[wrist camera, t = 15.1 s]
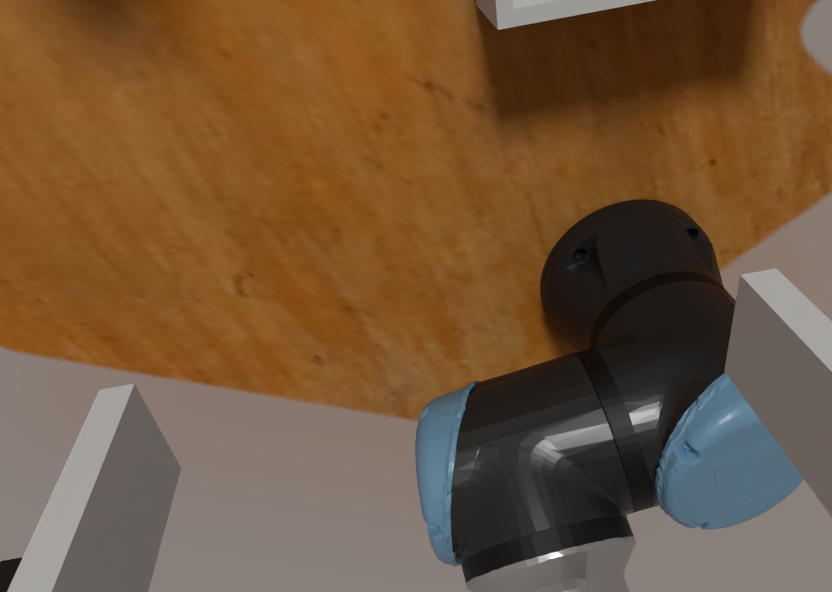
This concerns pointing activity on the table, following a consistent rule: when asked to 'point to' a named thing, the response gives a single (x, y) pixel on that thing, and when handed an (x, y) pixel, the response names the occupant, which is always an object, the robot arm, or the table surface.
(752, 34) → the table surface
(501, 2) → the bin
